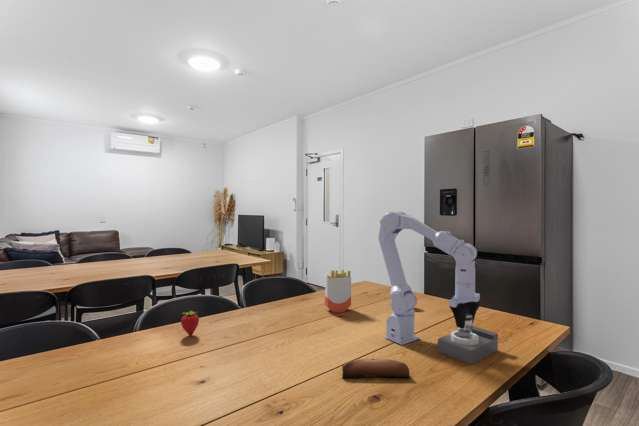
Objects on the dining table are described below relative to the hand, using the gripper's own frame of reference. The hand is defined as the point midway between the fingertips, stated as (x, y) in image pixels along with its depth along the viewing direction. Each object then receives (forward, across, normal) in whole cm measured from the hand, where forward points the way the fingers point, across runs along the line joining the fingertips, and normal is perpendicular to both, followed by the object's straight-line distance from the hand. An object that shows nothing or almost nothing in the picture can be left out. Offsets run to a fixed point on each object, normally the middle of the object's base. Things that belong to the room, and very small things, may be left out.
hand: (464, 325), depth 106 cm
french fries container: (+9, -4, +57) cm, 58 cm away
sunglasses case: (+9, -32, +8) cm, 34 cm away
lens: (+1, 0, 0) cm, 1 cm away
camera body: (+8, +2, 0) cm, 9 cm away
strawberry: (+9, -65, +65) cm, 92 cm away
